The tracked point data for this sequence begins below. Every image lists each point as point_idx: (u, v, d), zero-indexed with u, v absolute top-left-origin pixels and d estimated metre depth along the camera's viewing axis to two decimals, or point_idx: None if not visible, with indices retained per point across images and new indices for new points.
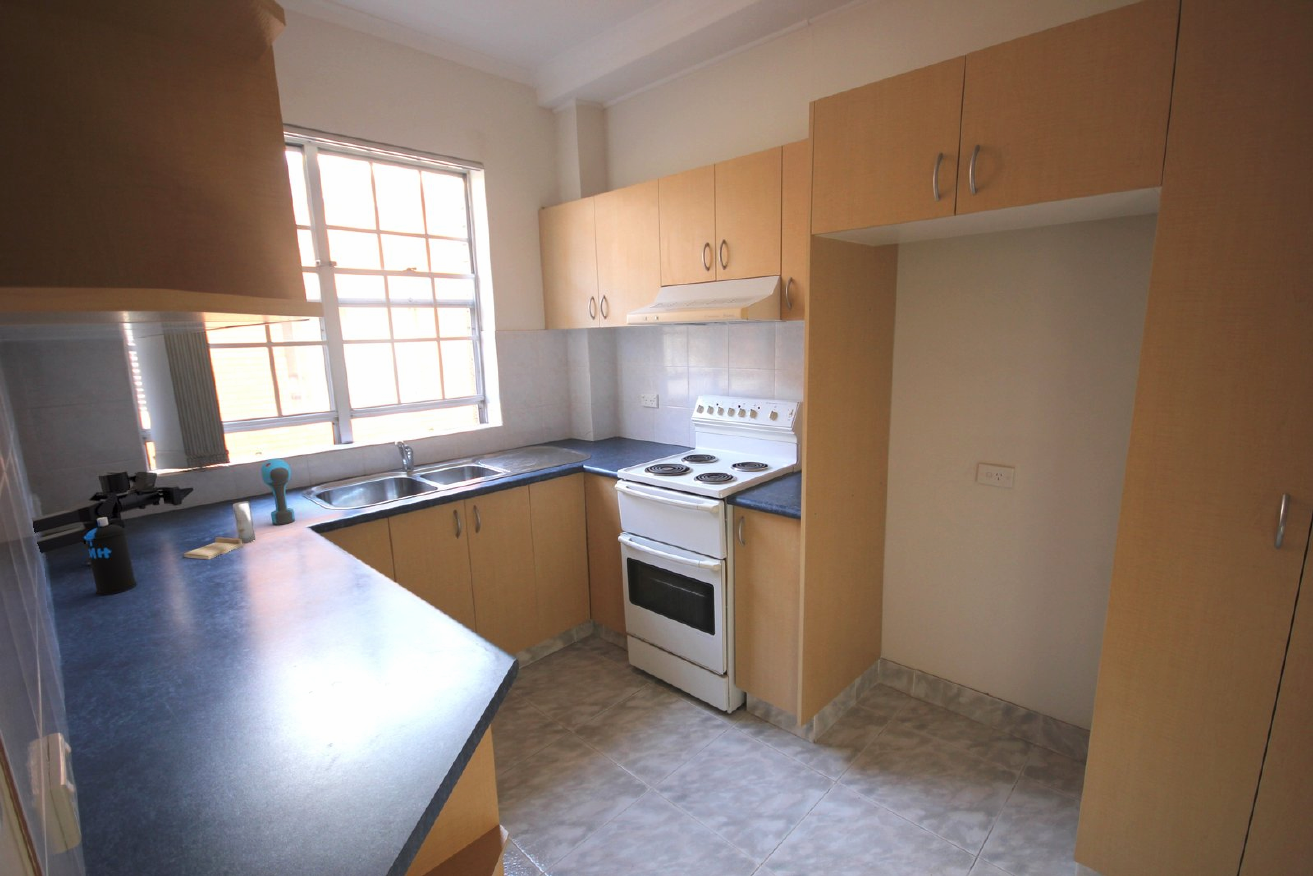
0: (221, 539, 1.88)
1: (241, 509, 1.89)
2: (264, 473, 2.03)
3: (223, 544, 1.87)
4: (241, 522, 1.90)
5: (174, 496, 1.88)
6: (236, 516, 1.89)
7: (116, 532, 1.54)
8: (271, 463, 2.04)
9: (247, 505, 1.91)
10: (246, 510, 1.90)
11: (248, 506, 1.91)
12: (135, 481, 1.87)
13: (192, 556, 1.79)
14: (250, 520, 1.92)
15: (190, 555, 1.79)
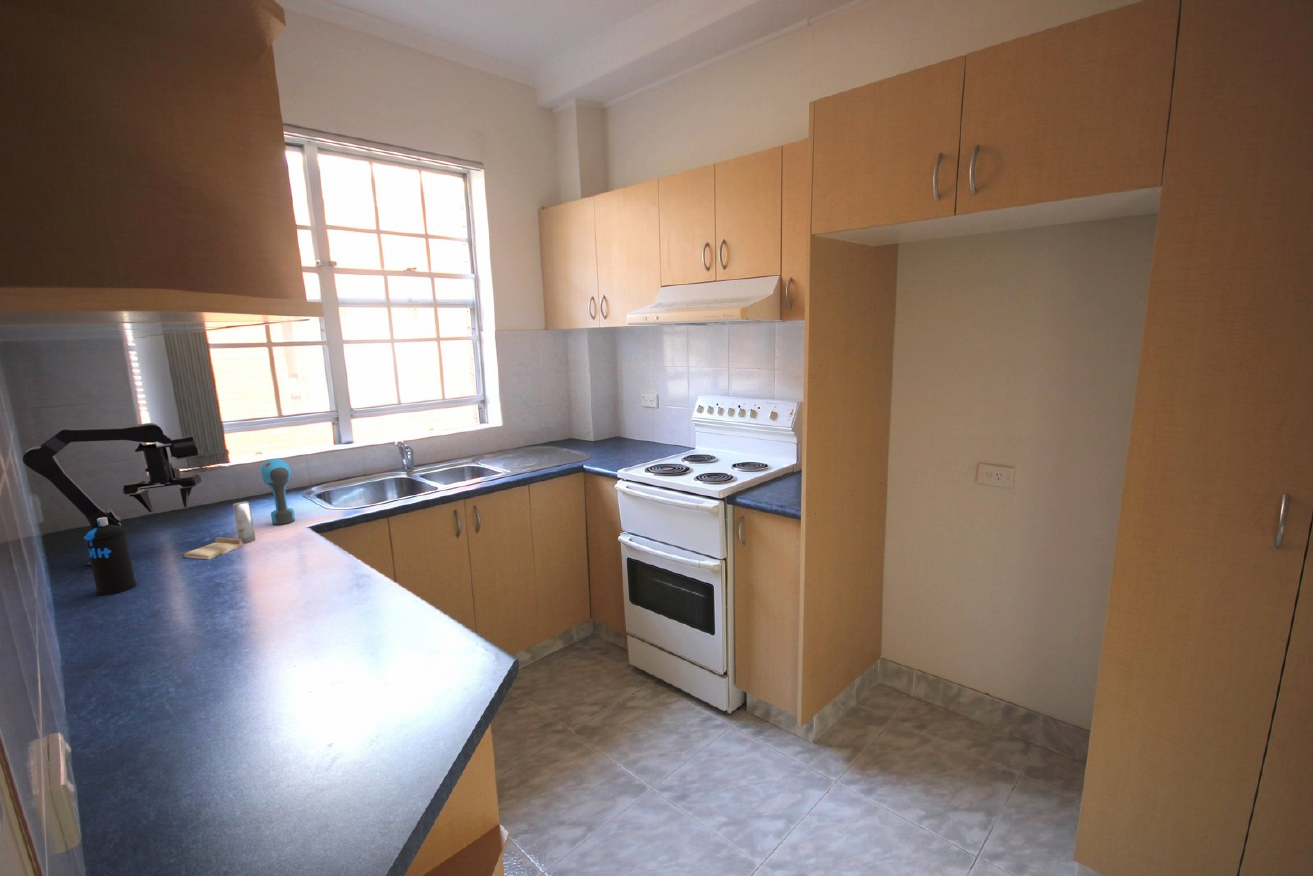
0: (221, 539, 1.88)
1: (241, 509, 1.89)
2: (264, 473, 2.03)
3: (223, 544, 1.87)
4: (241, 522, 1.90)
5: (197, 477, 1.89)
6: (236, 516, 1.89)
7: (116, 532, 1.54)
8: (271, 463, 2.04)
9: (247, 505, 1.91)
10: (246, 510, 1.90)
11: (248, 506, 1.91)
12: None
13: (192, 556, 1.79)
14: (250, 520, 1.92)
15: (190, 555, 1.79)
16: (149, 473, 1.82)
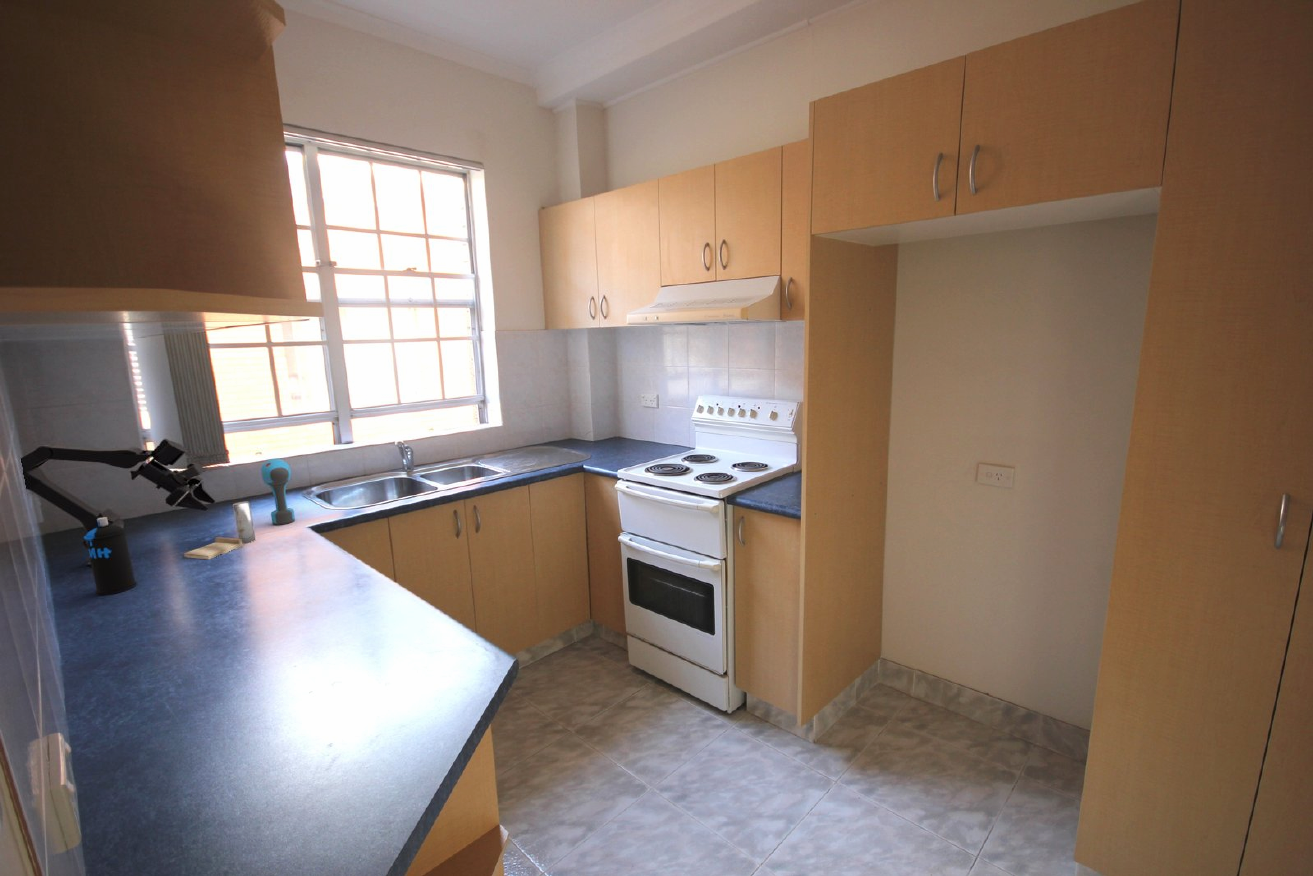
0: (221, 539, 1.88)
1: (241, 510, 1.89)
2: (264, 473, 2.03)
3: (223, 544, 1.87)
4: (241, 522, 1.90)
5: (173, 495, 1.75)
6: (236, 516, 1.89)
7: (116, 532, 1.54)
8: (271, 463, 2.04)
9: (247, 505, 1.90)
10: (246, 510, 1.90)
11: (248, 506, 1.91)
12: (188, 468, 1.85)
13: (192, 556, 1.79)
14: (250, 520, 1.92)
15: (190, 555, 1.79)
16: None
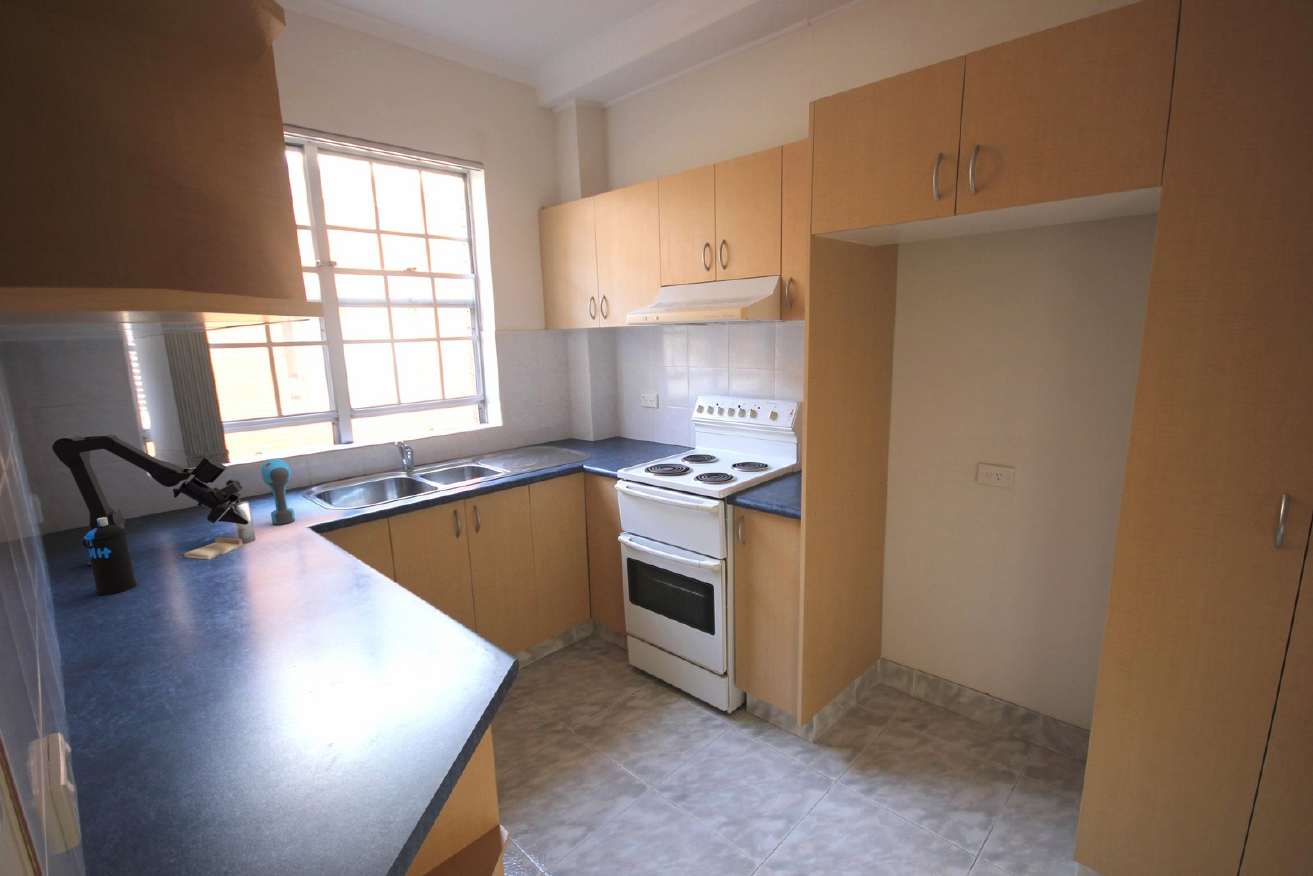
0: (221, 539, 1.88)
1: (241, 509, 1.89)
2: (264, 473, 2.03)
3: (223, 544, 1.87)
4: None
5: (214, 512, 1.80)
6: None
7: (116, 532, 1.54)
8: (271, 463, 2.04)
9: (247, 505, 1.90)
10: (246, 510, 1.90)
11: (248, 506, 1.91)
12: (227, 485, 1.90)
13: (192, 556, 1.79)
14: (250, 520, 1.92)
15: (190, 555, 1.79)
16: None
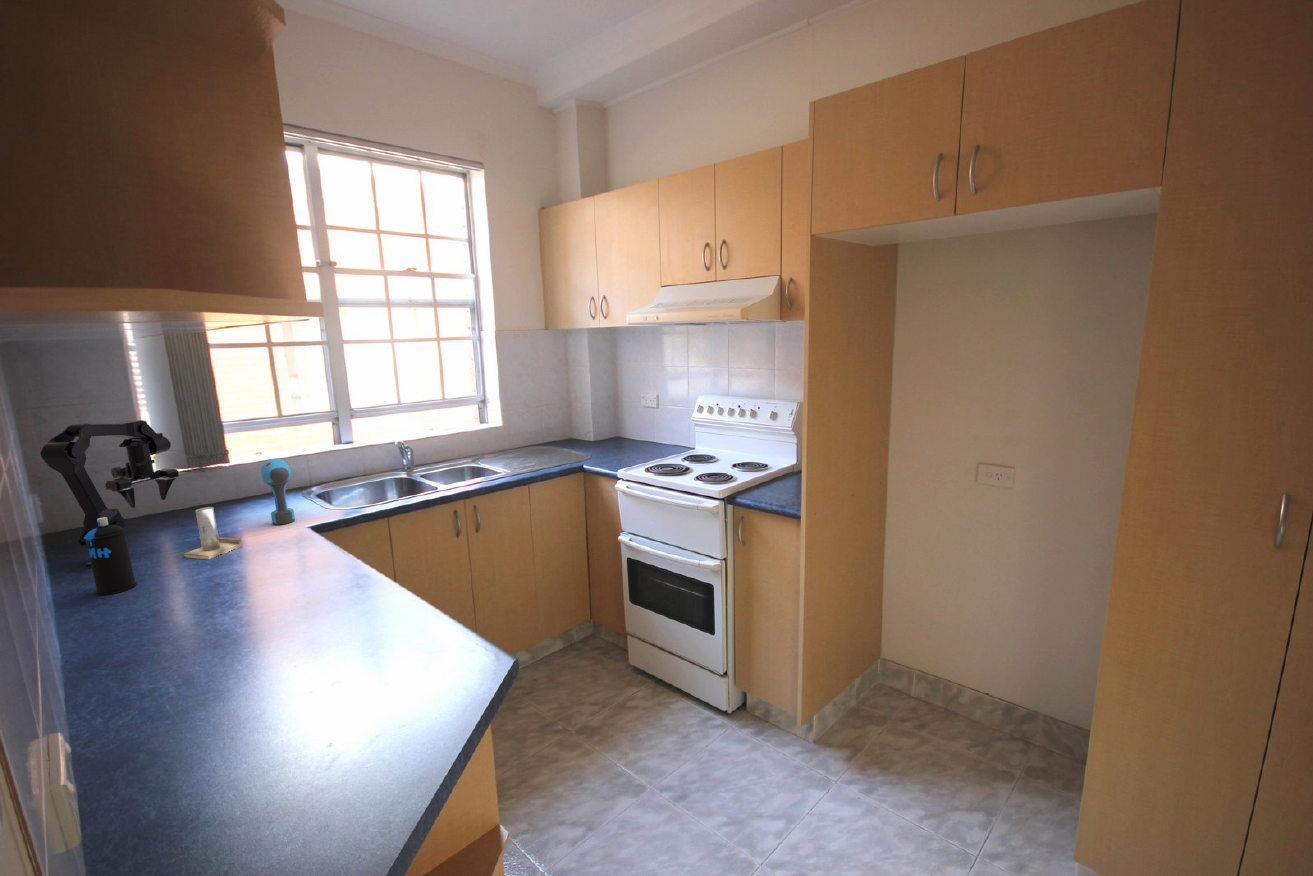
0: (221, 539, 1.88)
1: (202, 516, 1.79)
2: (264, 473, 2.03)
3: (223, 544, 1.87)
4: (202, 528, 1.80)
5: None
6: (198, 522, 1.80)
7: (116, 532, 1.54)
8: (271, 463, 2.04)
9: (209, 511, 1.80)
10: (208, 517, 1.80)
11: (210, 512, 1.81)
12: None
13: (192, 556, 1.79)
14: (213, 527, 1.81)
15: (190, 555, 1.79)
16: (139, 467, 1.90)
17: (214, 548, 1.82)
